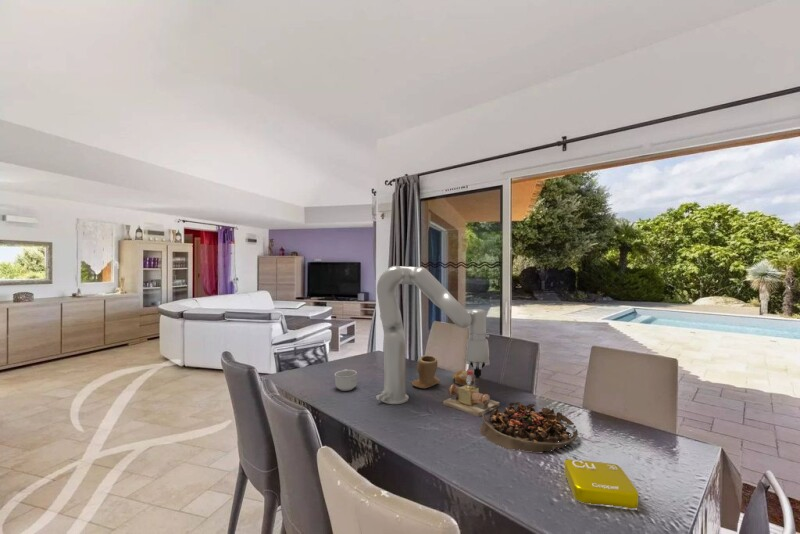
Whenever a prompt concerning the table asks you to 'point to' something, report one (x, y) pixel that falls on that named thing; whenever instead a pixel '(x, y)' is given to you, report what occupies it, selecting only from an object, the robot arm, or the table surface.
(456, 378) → the bread roll
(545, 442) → the food dish
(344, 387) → the teacup
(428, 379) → the stone cup
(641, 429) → the table surface
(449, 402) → the beige board
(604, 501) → the element tile
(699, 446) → the table surface
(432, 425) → the table surface
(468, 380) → the valve lever
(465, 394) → the valve pipe
